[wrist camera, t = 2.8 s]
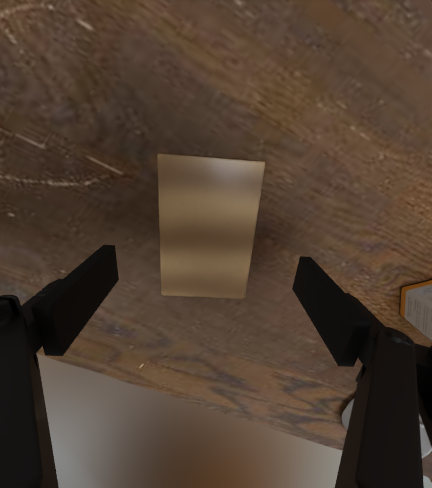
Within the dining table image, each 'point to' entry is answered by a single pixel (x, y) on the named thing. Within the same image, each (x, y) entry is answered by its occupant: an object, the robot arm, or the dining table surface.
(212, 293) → the brown wooden block
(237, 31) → the dining table surface
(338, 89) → the dining table surface
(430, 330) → the supplement box
